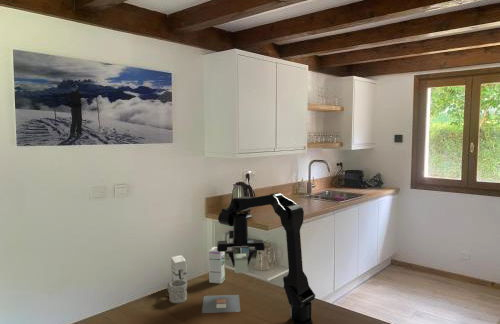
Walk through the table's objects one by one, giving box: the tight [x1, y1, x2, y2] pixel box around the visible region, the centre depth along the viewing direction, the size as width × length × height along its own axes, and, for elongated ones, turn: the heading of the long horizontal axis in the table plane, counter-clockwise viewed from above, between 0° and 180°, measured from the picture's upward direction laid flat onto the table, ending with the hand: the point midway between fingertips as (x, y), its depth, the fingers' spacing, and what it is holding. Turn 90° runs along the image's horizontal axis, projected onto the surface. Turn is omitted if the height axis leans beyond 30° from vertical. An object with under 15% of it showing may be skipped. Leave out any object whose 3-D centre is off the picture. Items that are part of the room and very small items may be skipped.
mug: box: [167, 280, 188, 304], centre depth 143 cm, size 10×7×7 cm
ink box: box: [170, 255, 188, 283], centre depth 155 cm, size 9×5×12 cm, turn 25°
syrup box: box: [208, 246, 226, 284], centre depth 160 cm, size 6×6×14 cm
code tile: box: [201, 294, 241, 314], centre depth 139 cm, size 14×14×1 cm
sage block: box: [233, 253, 249, 274], centre depth 146 cm, size 5×8×5 cm, turn 6°
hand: (240, 266), depth 146 cm, fingers closed on sage block, 5 cm apart
